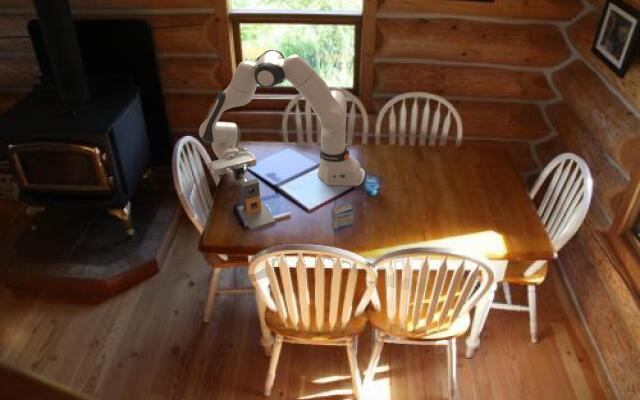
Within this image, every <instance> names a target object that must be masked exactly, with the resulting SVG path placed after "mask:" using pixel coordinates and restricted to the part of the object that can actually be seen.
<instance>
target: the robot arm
mask: <svg viewBox="0 0 640 400" xmlns="http://www.w3.org/2000/svg"><path fill="white" fill-rule="evenodd" d="M285 80H286V81H288V82H289V83H290V84H291V85H292V86H293V87H294V88H295V89H296V90H297V91H298V92H299V94H300V95H301V96H302V97H303V98H304V99H305V100H306V102H307V103H308V104H309V106H310V107H311V109H312V110H313V112H314V114H315V116H316V117H317V118H318V119H319V121H320V125H321V127H320V128H321V129H320V134H321V135H320V148H319V159H320V161H319V167H318V170H317V177H318V178H319V179H320V180H322V181H323V182H324V184H325V185H327V186H346V187H347V186H349V187H350V186H352V187H355V186H356V187H358V186H360V185H362V183H363V182H364V181H365V177H366V172H365V170H364V168H362V167H361V164H360V162H359V161H358V160H357V159H355V158H354V157H353V156H351V155H350V148H348V149H347V148H346V132H347V131H346V129H347V106H348V103H347V99H346V97H345V94H343V93H342V92H341V91H339V90H335V89H334V90H331V89H330V88H329V86H328V84H327V83H326V81H325V80H324V79H323V78H322V76H320V75H319V73H318V72H317V71H316V70H315V69H314V68H313V66H311V65H310V64H309V63H308V62H307V61H306V60H305V59H304V58H302V57H301V56H300V55H298V54H291V55H289V56H287V57H286V58H285V56H284V54H283V53H282V52H281V51H280V50H278V49H277V48H276V49H275V48H271V49H268V50H266V51H265V52H263V53H262V54H260V55H259V56H258V57H257V58H256V61H255V62H254V61H250V60H243V61H241V62H240V63H238V65H237V67H236V69H235V70H234V73H233V75H232V78H231V80H230V83H229V84H228V86H227V87H226V88H225V89H224V90H223V91H221V92H220V93H219V94H217V97H216V98H215V100H214V101H213V104H212V105H211V107H210V109H209V111H208V113H207V115H206V116H205V118H204V120H203V121H202V123H201V124H200V126H199V129H198V136H199V138H200V139H201V140H202V141H203V142H204V143H206V144H211V147H212V150H213V153H214V154H215V155H216V156H215V157H217V160H213V161H211V162H210V163H208V167H209V168H210V169H211V171H212V174H213V175H214V176H221V175H225V174H228V175H230V176H231V177H234V176H235V172H234V170H233V166H234V165H238V164H242V165H243V167H244V174H247V172H248V170H247V169H248V168H252V167H255V166H257V163H258V162H257V158H256V157H255V155H254V154H253V153H252V152H251V151H248V148H247V147H238V145H239V143H240V140H241V135H242V133H241V129H240V127H239V126H238V125H237V123H235V122H229V121H228V122H227V121H219V119H220V118H221V116H222V115H223V113H224V112H225V111H226V110H229V109H232V108H236V107H241V106H242V107H243V106H245V105H247V104H249V103H250V102H251V101H252V99H253V98H254V95H255V92H256V90H257V87H258V86H260V87H262V88H265V89H270V88H273V87H275V86H277V85H278V84H282V83H284V81H285Z"/></svg>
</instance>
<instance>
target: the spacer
mask: <svg viewBox="0 0 640 400" xmlns="http://www.w3.org/2000/svg"><path fill="white" fill-rule="evenodd" d="M261 199H262V198H261V195H260V196H259V195H258V196H255V197H251V198H248V199H245V201H246V210H247V213H248V214H250V213H253V212H257V211H260V210H261ZM255 202H256V206H254V207H251V203H255Z"/></svg>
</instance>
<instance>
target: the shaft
mask: <svg viewBox="0 0 640 400" xmlns="http://www.w3.org/2000/svg"><path fill="white" fill-rule="evenodd" d="M233 170H234V172H235V176H233V178H234V179H235V181H240V180H241V181H242V182H246V181H248V179H247V178H246V176H245V174H246V173H244V167H243V165H242V164H238V165H234V166H233ZM242 182H241V183H242ZM252 191H253V188H252V189H249V192H252Z"/></svg>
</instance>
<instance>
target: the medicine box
mask: <svg viewBox="0 0 640 400" xmlns="http://www.w3.org/2000/svg"><path fill="white" fill-rule="evenodd" d="M353 215H354V208H352V206H351V205H350V204H349V203H346V204H342V205H340V206H336V207H333V208H331V216H330V217H331V220H330V221H331V222H330V223H331V224H330V225H331V226H332V228H334V229H335V231H338V230H341V229H344V228H348V227H349V226H350V227H351V226H353V219H354V218H353V217H354V216H353Z"/></svg>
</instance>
